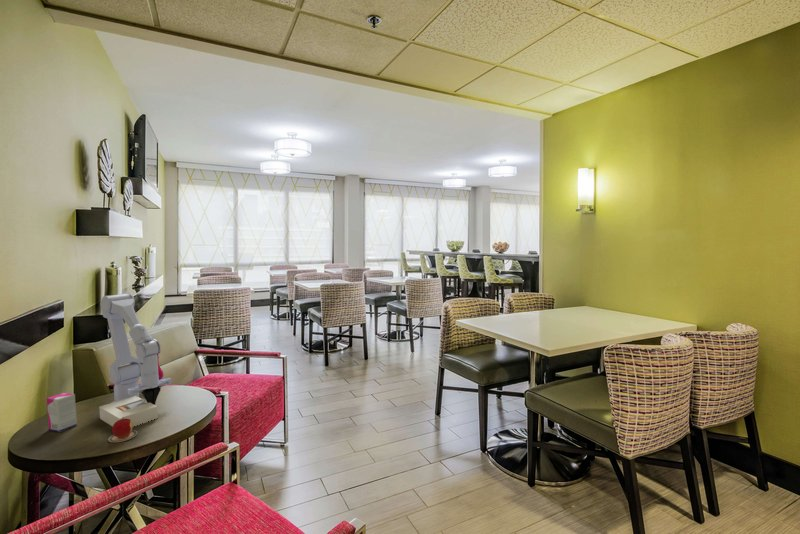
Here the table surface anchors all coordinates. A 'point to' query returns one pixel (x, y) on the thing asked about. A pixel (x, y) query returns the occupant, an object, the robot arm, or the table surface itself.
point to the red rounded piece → (122, 431)
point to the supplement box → (61, 412)
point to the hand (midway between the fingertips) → (151, 407)
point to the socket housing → (128, 411)
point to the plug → (134, 405)
